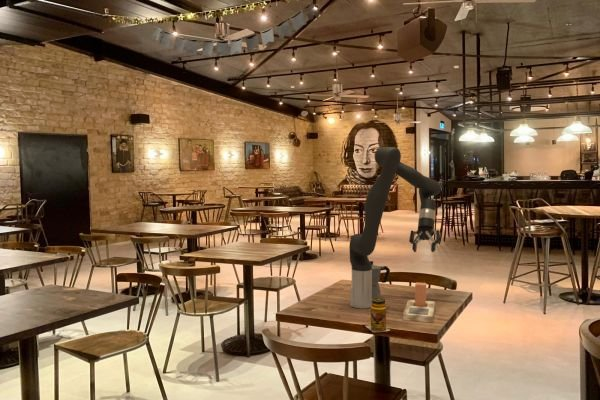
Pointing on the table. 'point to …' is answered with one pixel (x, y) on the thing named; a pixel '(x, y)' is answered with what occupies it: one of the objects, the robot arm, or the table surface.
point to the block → (420, 294)
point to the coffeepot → (377, 279)
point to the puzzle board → (419, 312)
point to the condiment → (378, 316)
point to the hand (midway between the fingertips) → (423, 251)
